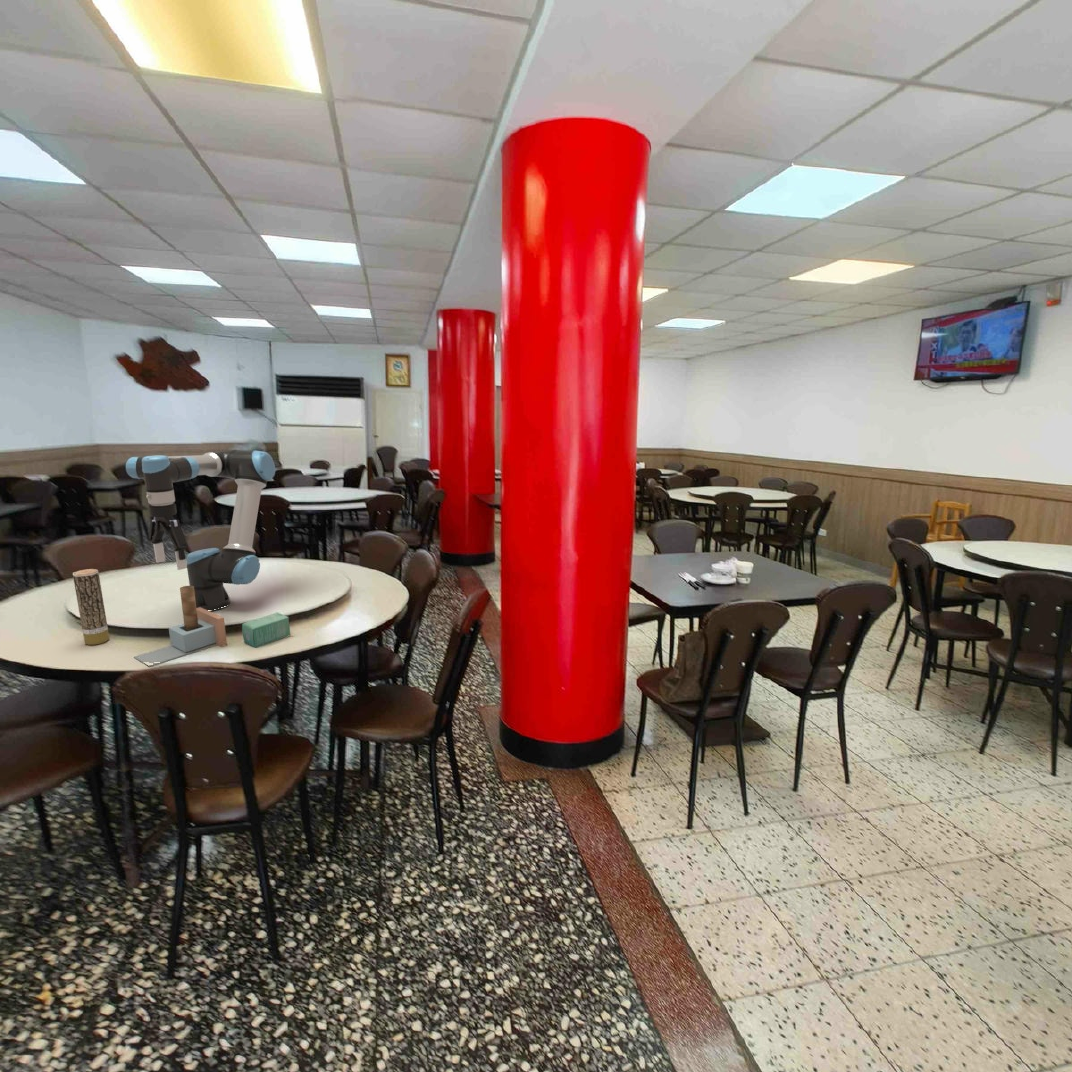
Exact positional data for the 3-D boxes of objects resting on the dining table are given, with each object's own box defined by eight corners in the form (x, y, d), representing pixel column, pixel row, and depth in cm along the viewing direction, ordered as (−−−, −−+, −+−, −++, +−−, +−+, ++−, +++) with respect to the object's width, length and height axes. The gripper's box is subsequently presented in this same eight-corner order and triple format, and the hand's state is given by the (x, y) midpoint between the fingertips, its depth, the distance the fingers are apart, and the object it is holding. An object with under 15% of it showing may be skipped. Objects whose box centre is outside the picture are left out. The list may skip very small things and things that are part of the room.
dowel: (196, 634, 199) (190, 584, 195) (201, 637, 197) (196, 587, 193) (183, 638, 196) (177, 587, 192) (189, 641, 194) (183, 590, 190)
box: (242, 643, 200) (240, 622, 199) (279, 631, 211) (277, 611, 209) (254, 648, 196) (252, 628, 194) (290, 636, 207) (289, 616, 205)
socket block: (201, 635, 204) (199, 619, 202) (216, 642, 198) (214, 626, 197) (170, 644, 196) (168, 628, 194) (185, 652, 190) (183, 635, 189)
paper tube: (114, 637, 202) (103, 569, 196) (100, 645, 195) (88, 575, 190) (94, 637, 202) (82, 568, 196) (79, 645, 195) (67, 575, 189)
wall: (203, 633, 207) (200, 607, 205) (226, 644, 198) (223, 617, 196) (197, 635, 206) (194, 608, 203) (221, 646, 197) (217, 619, 194)
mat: (206, 635, 206) (206, 634, 206) (223, 642, 200) (223, 641, 200) (134, 657, 187) (133, 656, 187) (149, 667, 181) (149, 666, 181)
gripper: (130, 500, 193) (140, 561, 198) (170, 510, 180) (179, 575, 186) (154, 497, 199) (163, 556, 204) (194, 506, 186) (203, 568, 192)
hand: (171, 565), depth 195 cm, fingers open, 13 cm apart
